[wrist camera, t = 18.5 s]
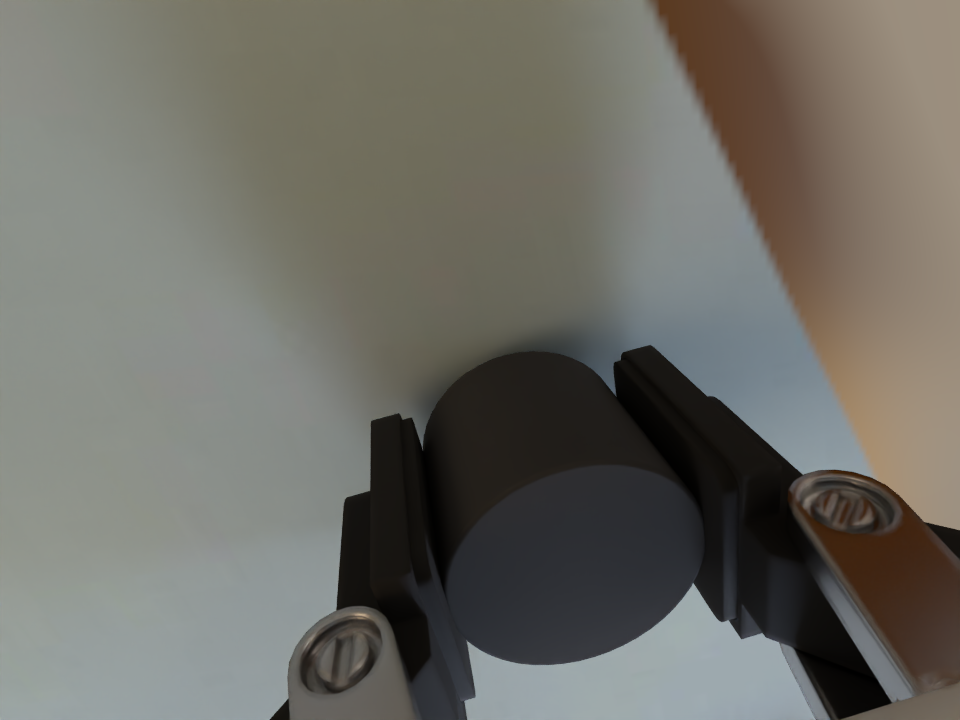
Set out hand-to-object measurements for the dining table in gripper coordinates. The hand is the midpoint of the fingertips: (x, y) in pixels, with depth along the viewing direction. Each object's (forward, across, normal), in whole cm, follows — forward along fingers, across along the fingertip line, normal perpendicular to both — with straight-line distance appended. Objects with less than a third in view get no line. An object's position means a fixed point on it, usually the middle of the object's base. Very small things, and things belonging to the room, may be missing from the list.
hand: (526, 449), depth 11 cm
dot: (0, 0, 0) cm, 0 cm away
